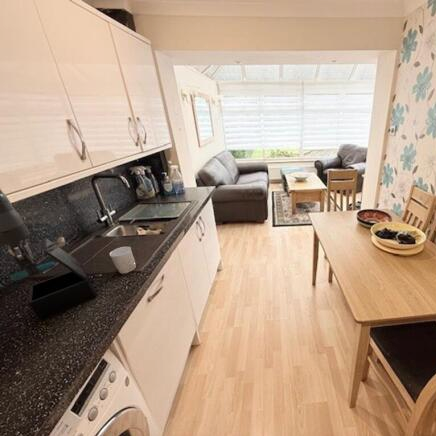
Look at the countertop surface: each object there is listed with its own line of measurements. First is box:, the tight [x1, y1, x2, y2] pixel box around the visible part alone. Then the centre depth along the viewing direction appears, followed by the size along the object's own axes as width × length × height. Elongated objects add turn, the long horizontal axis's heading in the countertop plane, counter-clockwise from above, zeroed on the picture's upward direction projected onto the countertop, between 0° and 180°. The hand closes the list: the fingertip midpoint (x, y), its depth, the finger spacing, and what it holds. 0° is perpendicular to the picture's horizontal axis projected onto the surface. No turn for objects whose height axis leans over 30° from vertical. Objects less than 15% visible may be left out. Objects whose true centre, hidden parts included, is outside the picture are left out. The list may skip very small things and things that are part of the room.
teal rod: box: [9, 261, 56, 282], centre depth 77 cm, size 10×2×2 cm, turn 137°
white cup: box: [109, 246, 137, 274], centre depth 107 cm, size 8×8×10 cm
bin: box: [28, 270, 96, 322], centre depth 90 cm, size 16×13×9 cm
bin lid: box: [43, 236, 87, 280], centre depth 89 cm, size 16×13×5 cm
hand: (34, 272), depth 77 cm, fingers closed on teal rod, 2 cm apart
